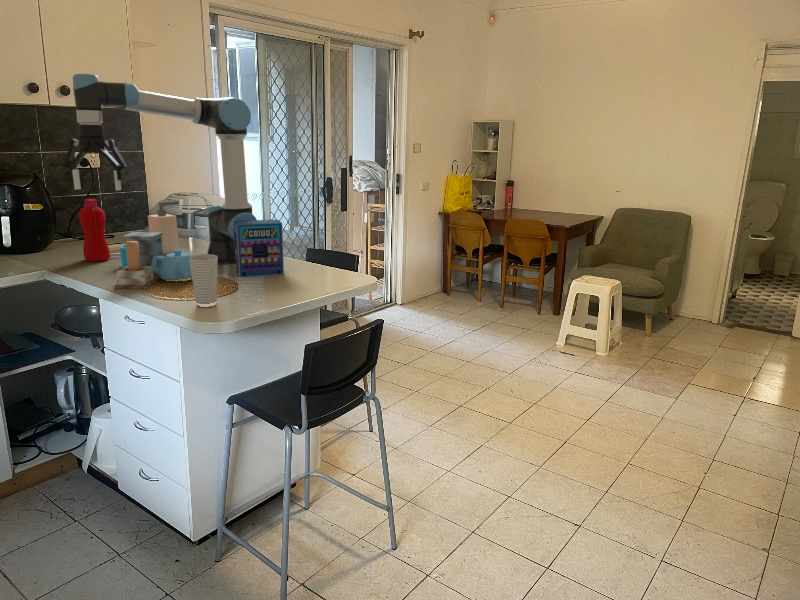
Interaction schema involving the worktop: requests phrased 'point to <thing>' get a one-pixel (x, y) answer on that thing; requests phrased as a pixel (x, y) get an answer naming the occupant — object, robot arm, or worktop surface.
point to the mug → (123, 256)
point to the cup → (204, 277)
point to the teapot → (173, 266)
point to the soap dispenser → (165, 227)
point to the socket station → (142, 261)
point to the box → (258, 248)
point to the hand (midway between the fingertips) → (98, 189)
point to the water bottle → (94, 232)
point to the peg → (133, 256)
